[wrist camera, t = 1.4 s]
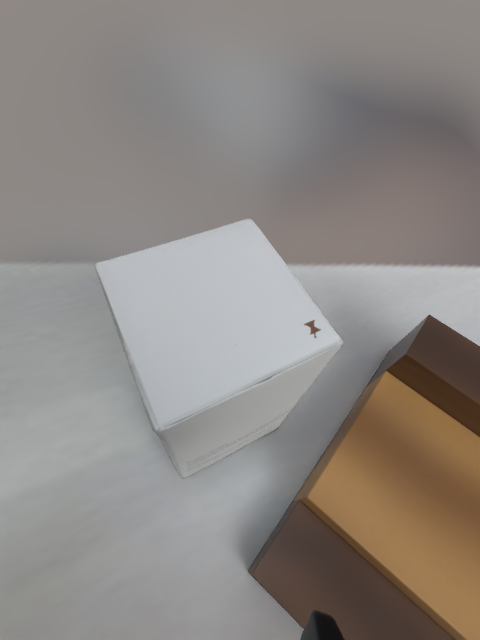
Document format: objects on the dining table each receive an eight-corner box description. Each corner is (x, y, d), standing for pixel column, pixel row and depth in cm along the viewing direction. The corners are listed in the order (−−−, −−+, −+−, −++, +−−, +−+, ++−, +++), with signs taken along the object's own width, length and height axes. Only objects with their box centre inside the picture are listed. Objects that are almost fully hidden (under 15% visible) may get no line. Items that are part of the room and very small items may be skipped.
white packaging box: (232, 341, 26) (256, 212, 15) (280, 429, 23) (353, 344, 12) (139, 379, 23) (88, 257, 13) (178, 483, 20) (154, 437, 9)
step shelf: (449, 778, 15) (562, 892, 10) (247, 571, 18) (264, 587, 14) (538, 452, 24) (620, 435, 19) (389, 350, 27) (429, 314, 22)
